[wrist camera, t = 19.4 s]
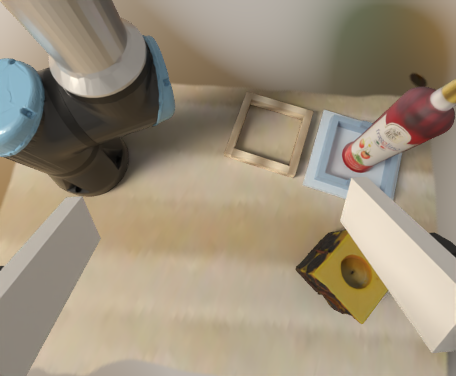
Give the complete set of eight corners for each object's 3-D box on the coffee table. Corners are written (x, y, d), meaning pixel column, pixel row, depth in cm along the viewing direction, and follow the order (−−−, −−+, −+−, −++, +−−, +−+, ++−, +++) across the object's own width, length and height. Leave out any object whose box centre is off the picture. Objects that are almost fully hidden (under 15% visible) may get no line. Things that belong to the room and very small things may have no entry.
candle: (333, 310, 45) (362, 327, 35) (293, 269, 47) (310, 275, 37) (367, 269, 47) (404, 275, 37) (327, 231, 48) (352, 227, 39)
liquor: (330, 157, 51) (447, 57, 24) (354, 136, 52) (491, 17, 25) (356, 182, 50) (511, 107, 23) (380, 160, 51) (554, 63, 24)
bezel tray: (302, 185, 50) (307, 181, 47) (323, 111, 54) (329, 102, 51) (388, 213, 49) (400, 211, 46) (403, 135, 53) (415, 128, 50)
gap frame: (224, 155, 52) (224, 152, 50) (246, 96, 55) (246, 91, 53) (292, 177, 51) (295, 175, 49) (310, 116, 54) (313, 111, 52)
